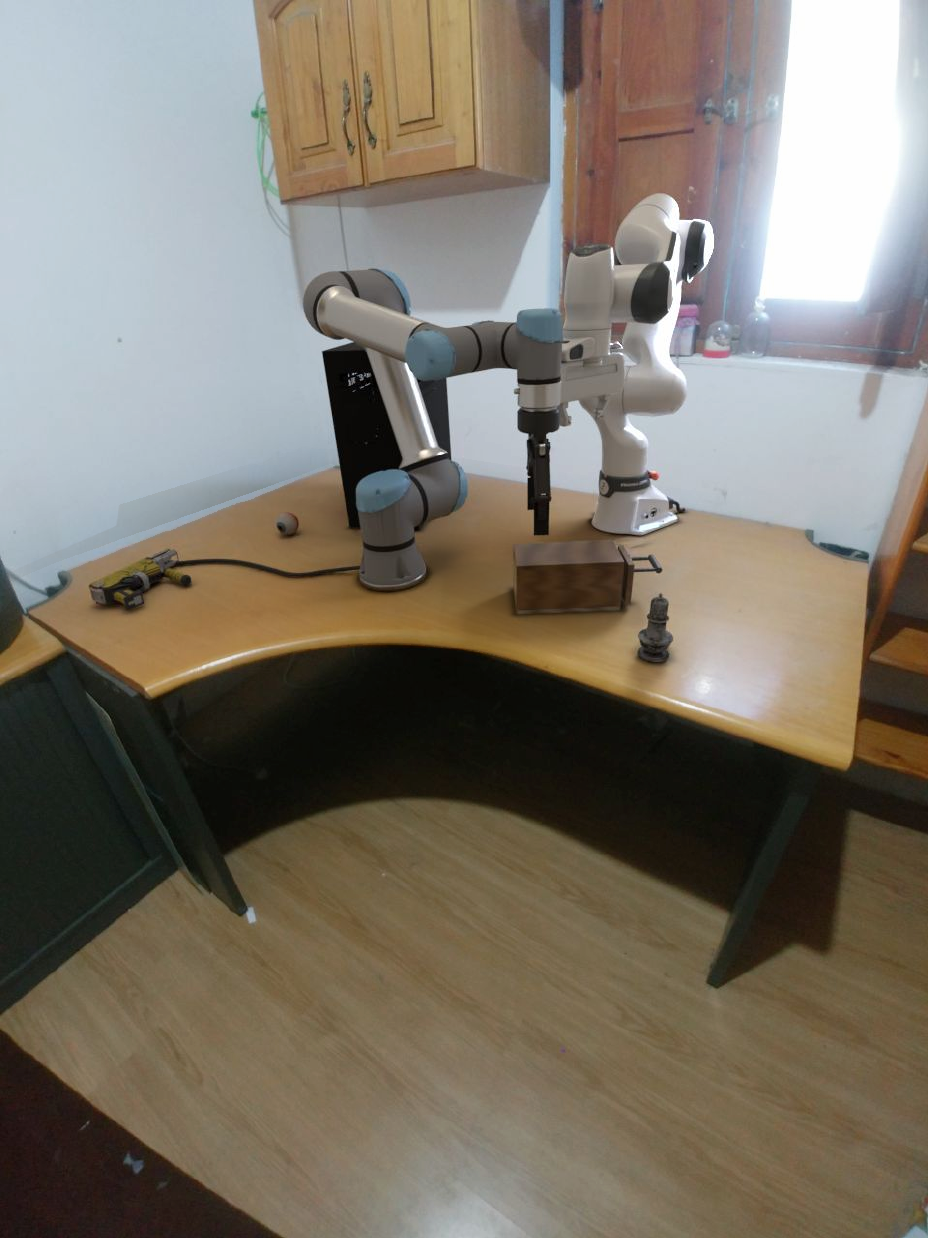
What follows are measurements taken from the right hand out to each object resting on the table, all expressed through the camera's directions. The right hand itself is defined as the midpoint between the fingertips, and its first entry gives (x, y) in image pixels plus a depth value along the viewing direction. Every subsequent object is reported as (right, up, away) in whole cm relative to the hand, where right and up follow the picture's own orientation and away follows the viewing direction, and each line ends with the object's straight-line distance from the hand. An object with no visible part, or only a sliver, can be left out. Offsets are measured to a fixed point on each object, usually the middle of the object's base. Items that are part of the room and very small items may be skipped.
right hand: (582, 421), depth 119 cm
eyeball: (-71, -16, +46) cm, 86 cm away
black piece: (-41, -5, +61) cm, 74 cm away
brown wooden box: (-3, -35, +6) cm, 36 cm away
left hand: (-9, -20, -3) cm, 22 cm away
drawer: (+3, -34, +5) cm, 34 cm away
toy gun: (-95, -32, +21) cm, 102 cm away
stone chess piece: (+10, -45, -13) cm, 48 cm away
